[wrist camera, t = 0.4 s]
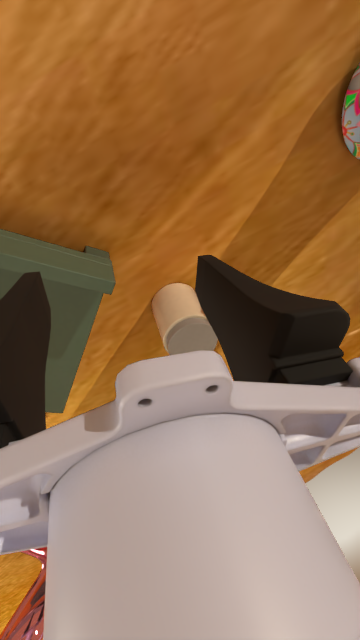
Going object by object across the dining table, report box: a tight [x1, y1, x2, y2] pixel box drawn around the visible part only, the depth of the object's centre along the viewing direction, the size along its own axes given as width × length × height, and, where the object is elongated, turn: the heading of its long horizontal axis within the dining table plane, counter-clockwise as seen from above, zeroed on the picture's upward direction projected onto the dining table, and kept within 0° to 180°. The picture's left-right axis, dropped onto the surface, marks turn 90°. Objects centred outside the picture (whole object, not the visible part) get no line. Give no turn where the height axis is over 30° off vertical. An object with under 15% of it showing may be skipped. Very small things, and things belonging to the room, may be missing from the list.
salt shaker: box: [151, 283, 218, 355], centre depth 26 cm, size 4×4×6 cm
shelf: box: [0, 229, 115, 413], centre depth 23 cm, size 16×12×5 cm
